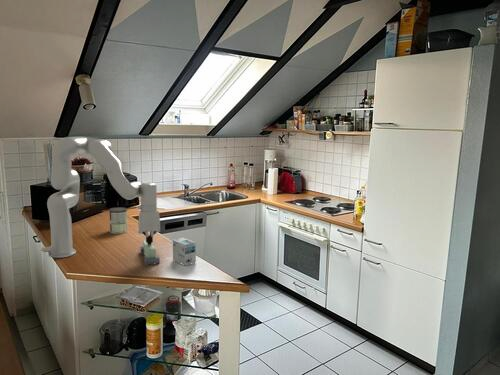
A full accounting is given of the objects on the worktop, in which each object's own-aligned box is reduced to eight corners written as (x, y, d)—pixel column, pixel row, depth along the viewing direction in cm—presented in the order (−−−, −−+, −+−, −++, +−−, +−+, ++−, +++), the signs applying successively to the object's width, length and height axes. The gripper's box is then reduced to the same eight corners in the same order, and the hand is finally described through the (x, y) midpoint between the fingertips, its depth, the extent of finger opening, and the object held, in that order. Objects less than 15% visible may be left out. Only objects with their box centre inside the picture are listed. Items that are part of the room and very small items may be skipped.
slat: (148, 263, 186) (148, 250, 184) (143, 253, 200) (143, 240, 199) (155, 263, 187) (155, 249, 186) (150, 252, 201) (150, 239, 200)
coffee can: (106, 231, 236) (105, 209, 234) (120, 228, 244) (120, 206, 242) (116, 234, 230) (116, 211, 228) (131, 231, 239) (130, 208, 236)
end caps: (145, 265, 183) (145, 259, 183) (139, 252, 201) (139, 246, 201) (159, 263, 186) (159, 257, 185) (152, 250, 204) (152, 245, 203)
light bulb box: (196, 263, 188) (196, 242, 187) (185, 266, 184) (185, 244, 182) (183, 257, 196) (183, 237, 194) (172, 260, 191) (172, 239, 189)
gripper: (134, 210, 183) (134, 247, 186) (165, 208, 189) (165, 244, 192) (132, 207, 190) (132, 243, 193) (162, 205, 196) (163, 240, 199)
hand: (149, 243), depth 192 cm, fingers closed
